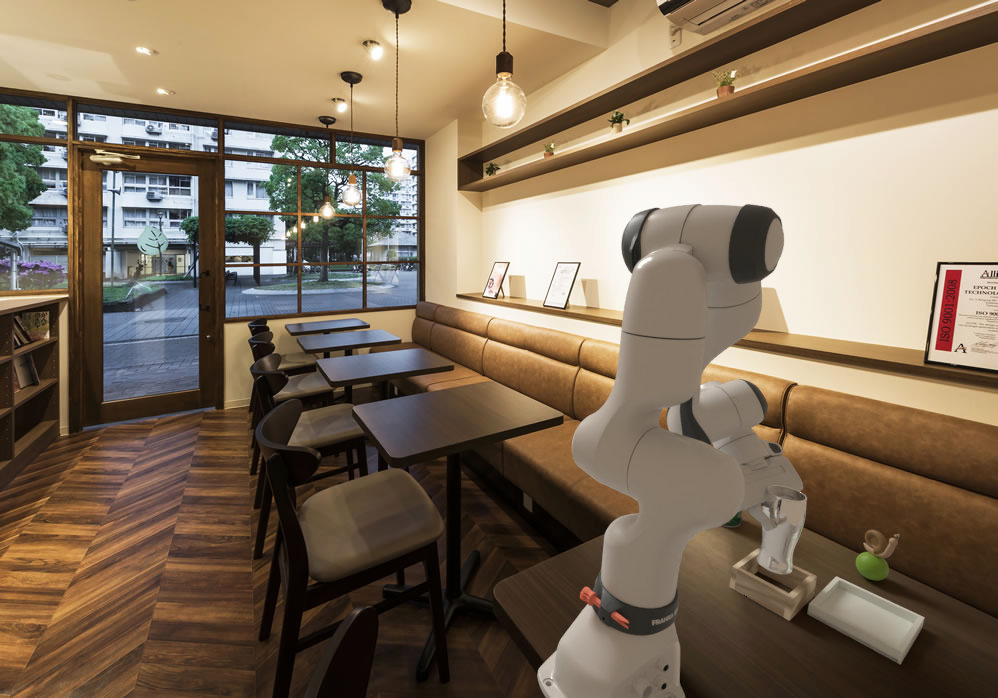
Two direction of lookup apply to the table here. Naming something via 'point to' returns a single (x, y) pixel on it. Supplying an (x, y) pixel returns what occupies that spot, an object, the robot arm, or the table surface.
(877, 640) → the tray
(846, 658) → the table surface
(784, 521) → the beer glass
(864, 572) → the snail figurine
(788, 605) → the square frame
